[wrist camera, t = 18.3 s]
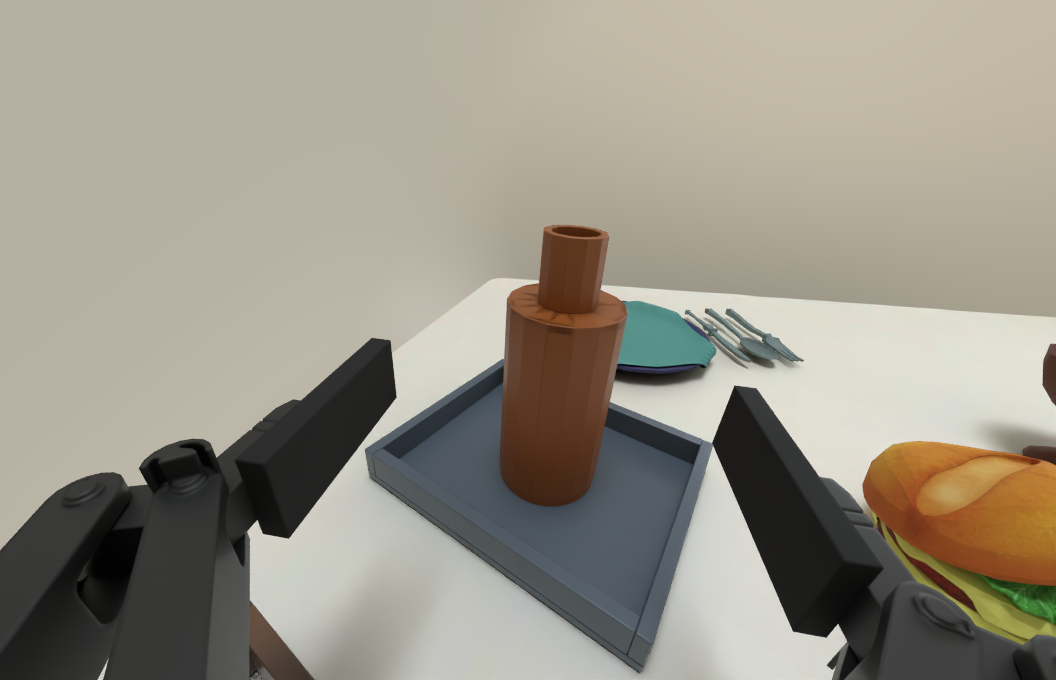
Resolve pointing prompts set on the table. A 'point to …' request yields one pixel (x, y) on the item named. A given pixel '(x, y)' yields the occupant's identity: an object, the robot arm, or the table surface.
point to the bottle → (559, 369)
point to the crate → (271, 652)
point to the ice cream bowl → (1052, 382)
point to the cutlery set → (683, 340)
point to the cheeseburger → (973, 530)
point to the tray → (556, 510)
